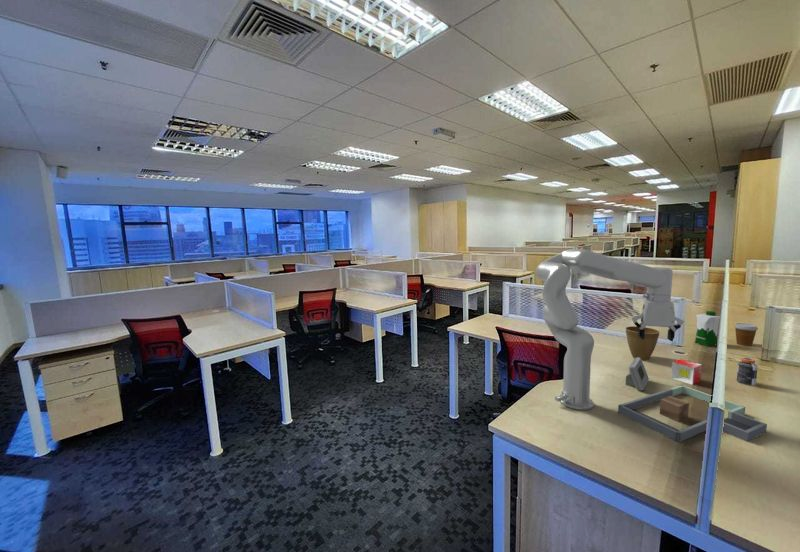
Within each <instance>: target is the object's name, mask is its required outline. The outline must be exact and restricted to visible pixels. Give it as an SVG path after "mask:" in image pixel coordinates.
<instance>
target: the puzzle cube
mask: <svg viewBox="0 0 800 552" xmlns="http://www.w3.org/2000/svg"><path fill="white" fill-rule="evenodd" d="M702 368H703V365H702V363H696V362H694V361H690V360H685V359H682V358H679V359H676V360H675V361H672V362H671V379H672V380H675V381H678V382H682V383H686V384H688V385H692V386H693V385H696V384H698V383H699V382H701V380H702V379H701V378H702Z"/></svg>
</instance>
